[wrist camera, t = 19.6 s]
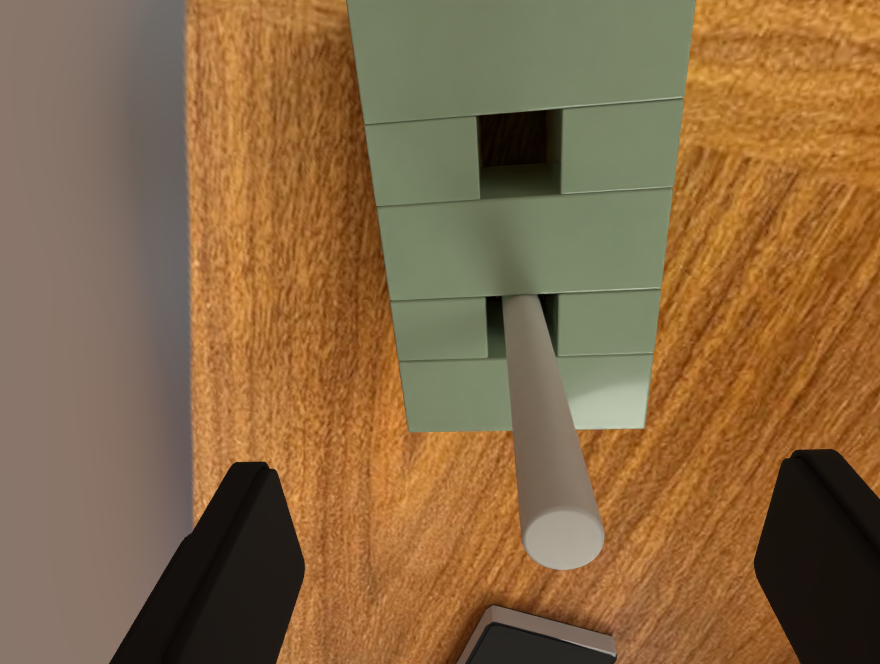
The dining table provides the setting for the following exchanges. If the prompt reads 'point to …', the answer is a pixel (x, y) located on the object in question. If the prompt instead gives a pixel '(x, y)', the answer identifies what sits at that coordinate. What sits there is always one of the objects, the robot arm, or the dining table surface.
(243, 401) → the dining table surface
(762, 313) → the dining table surface
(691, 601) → the dining table surface
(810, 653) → the robot arm
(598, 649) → the smartphone
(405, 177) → the pen holder
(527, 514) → the grey cylindrical rod
